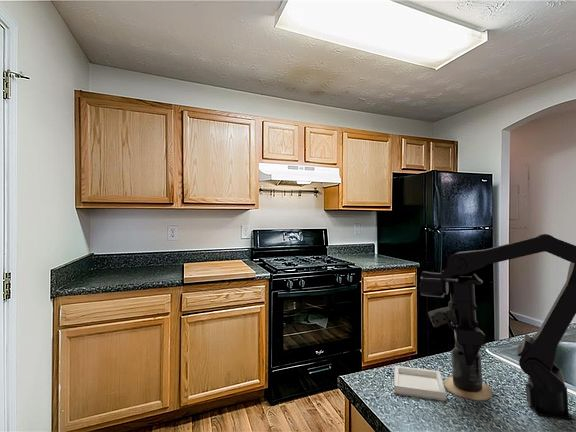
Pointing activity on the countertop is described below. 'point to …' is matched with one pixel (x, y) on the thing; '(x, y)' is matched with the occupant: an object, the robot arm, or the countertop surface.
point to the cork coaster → (481, 395)
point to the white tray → (419, 383)
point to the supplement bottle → (466, 371)
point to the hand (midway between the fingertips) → (465, 359)
